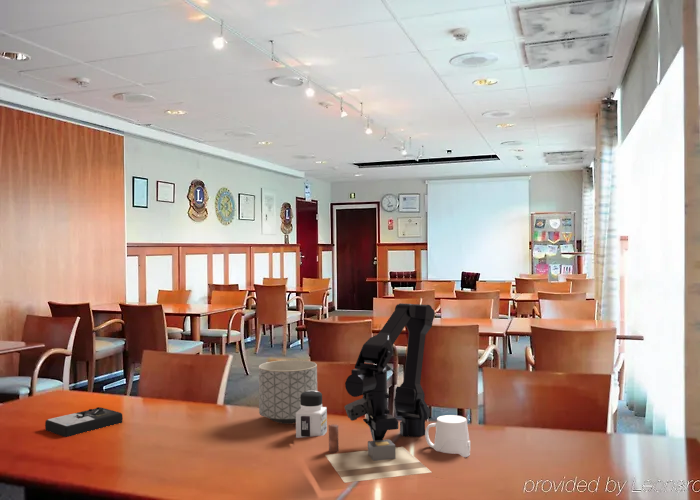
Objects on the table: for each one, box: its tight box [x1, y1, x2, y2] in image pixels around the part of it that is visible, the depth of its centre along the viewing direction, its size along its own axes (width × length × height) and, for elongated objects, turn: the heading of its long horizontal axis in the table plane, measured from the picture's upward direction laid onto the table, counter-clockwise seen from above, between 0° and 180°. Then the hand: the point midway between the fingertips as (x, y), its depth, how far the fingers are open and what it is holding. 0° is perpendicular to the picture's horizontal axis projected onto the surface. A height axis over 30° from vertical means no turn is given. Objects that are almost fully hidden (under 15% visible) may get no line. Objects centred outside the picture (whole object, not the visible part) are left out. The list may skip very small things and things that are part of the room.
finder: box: [367, 438, 396, 461], centre depth 156 cm, size 6×5×4 cm
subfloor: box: [324, 446, 432, 484], centre depth 151 cm, size 22×20×1 cm
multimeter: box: [44, 407, 123, 438], centre depth 192 cm, size 13×19×5 cm
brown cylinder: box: [328, 423, 340, 454], centre depth 161 cm, size 3×3×8 cm
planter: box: [258, 359, 318, 425], centre depth 196 cm, size 19×19×18 cm
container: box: [295, 390, 328, 439], centre depth 180 cm, size 8×8×13 cm
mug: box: [424, 414, 471, 458], centre depth 162 cm, size 12×9×8 cm
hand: (376, 447), depth 160 cm, fingers closed
